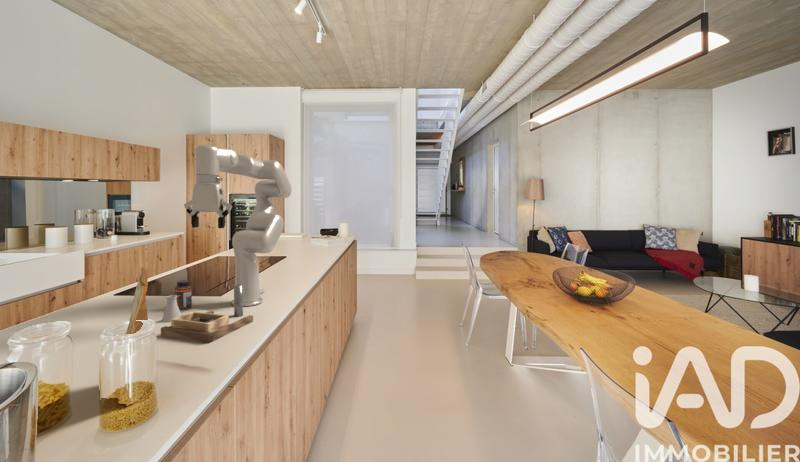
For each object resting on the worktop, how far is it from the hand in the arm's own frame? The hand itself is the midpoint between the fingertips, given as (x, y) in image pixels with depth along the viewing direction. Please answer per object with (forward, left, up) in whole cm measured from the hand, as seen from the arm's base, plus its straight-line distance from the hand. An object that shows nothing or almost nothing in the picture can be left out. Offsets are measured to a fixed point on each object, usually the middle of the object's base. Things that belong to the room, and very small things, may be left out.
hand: (208, 227), depth 134 cm
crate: (+15, +9, -33) cm, 37 cm away
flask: (+7, -10, -35) cm, 37 cm away
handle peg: (-4, +9, -35) cm, 36 cm away
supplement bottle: (-9, -21, -35) cm, 41 cm away
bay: (+11, +9, -34) cm, 37 cm away
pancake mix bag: (+46, +20, -35) cm, 61 cm away
